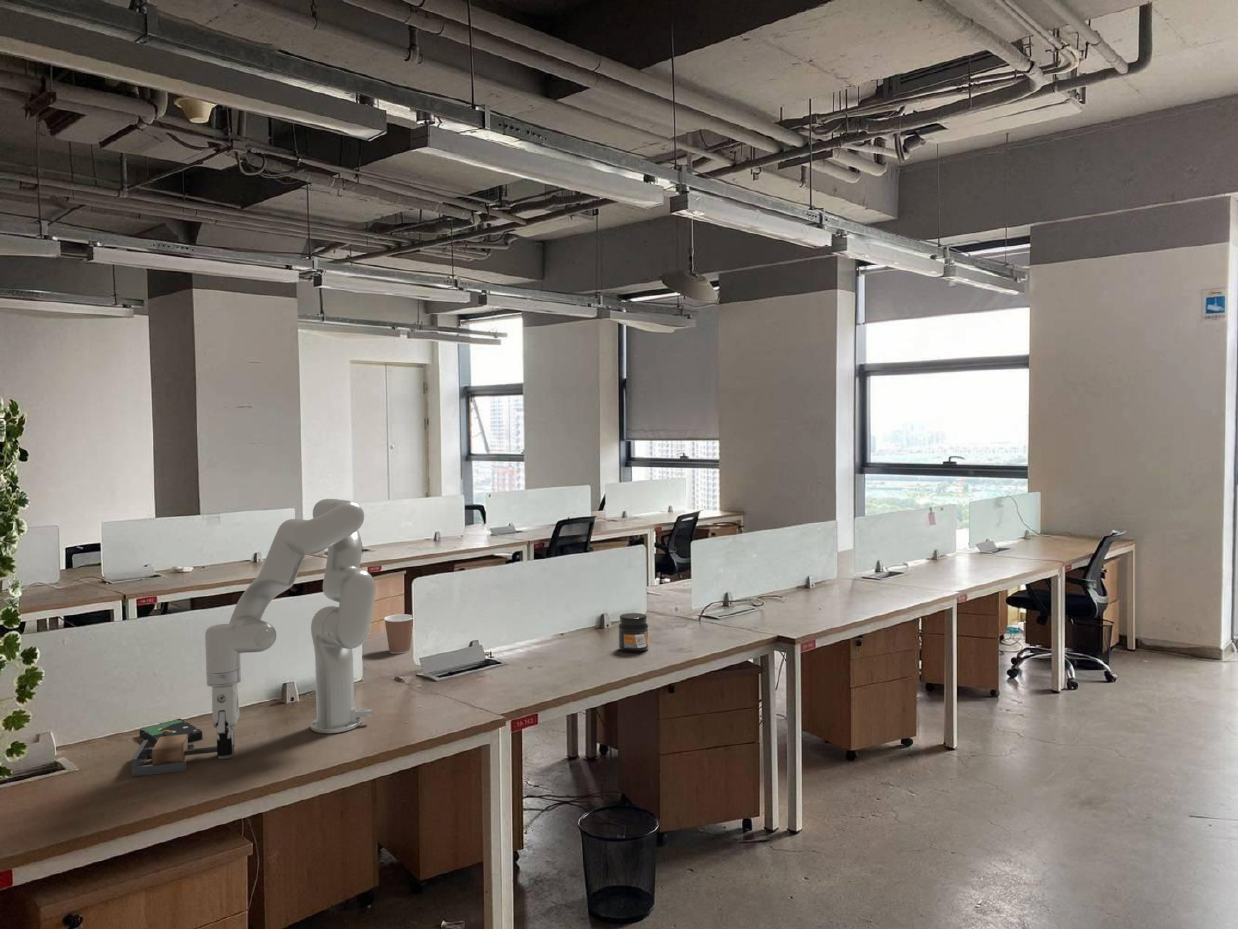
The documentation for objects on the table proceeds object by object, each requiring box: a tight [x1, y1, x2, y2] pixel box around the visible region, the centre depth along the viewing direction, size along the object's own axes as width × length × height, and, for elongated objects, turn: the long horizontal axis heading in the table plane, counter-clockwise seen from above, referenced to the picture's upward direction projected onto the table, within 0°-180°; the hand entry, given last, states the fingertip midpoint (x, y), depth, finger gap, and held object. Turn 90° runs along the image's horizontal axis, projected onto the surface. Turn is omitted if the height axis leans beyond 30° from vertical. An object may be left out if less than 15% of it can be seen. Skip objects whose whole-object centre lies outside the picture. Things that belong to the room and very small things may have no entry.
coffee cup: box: [383, 613, 414, 655], centre depth 309 cm, size 10×10×12 cm
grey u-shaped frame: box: [131, 739, 195, 778], centre depth 208 cm, size 11×13×4 cm
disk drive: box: [139, 718, 203, 747], centre depth 225 cm, size 10×3×15 cm
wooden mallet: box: [151, 729, 235, 764], centre depth 210 cm, size 17×9×6 cm, turn 107°
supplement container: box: [617, 612, 649, 654], centre depth 308 cm, size 10×10×12 cm
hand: (225, 751), depth 212 cm, fingers closed on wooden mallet, 3 cm apart
